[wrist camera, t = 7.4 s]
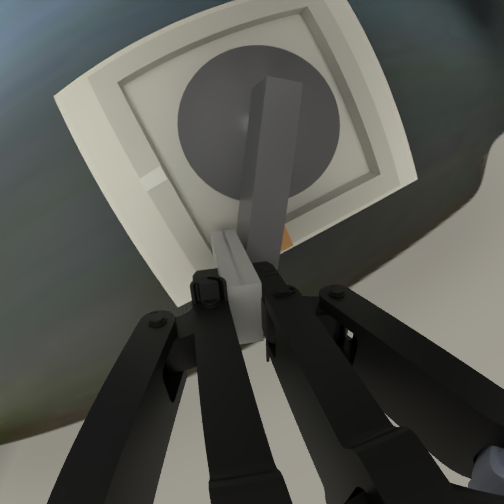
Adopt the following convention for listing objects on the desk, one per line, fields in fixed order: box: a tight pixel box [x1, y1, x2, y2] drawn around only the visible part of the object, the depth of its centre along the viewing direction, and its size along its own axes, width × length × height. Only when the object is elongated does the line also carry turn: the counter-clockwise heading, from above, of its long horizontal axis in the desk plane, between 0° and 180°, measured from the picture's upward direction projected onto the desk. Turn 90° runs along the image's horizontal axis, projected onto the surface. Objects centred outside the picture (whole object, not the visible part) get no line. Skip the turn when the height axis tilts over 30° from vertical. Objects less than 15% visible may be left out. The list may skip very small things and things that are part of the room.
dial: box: [177, 45, 340, 271], centre depth 16 cm, size 15×10×6 cm, turn 174°
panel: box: [54, 0, 417, 307], centre depth 17 cm, size 22×18×3 cm
